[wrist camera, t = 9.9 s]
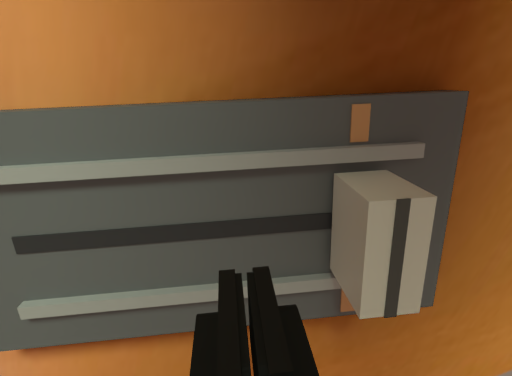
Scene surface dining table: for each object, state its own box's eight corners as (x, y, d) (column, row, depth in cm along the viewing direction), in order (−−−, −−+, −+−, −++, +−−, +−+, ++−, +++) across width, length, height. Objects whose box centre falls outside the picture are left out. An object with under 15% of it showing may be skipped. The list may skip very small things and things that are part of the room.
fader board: (-60, 112, 17) (-109, 118, 14) (444, 90, 19) (477, 91, 17) (15, 328, 21) (-12, 360, 19) (415, 288, 23) (438, 312, 21)
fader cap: (334, 172, 17) (369, 201, 13) (386, 169, 18) (438, 197, 13) (329, 268, 19) (360, 320, 15) (377, 264, 20) (420, 314, 15)
